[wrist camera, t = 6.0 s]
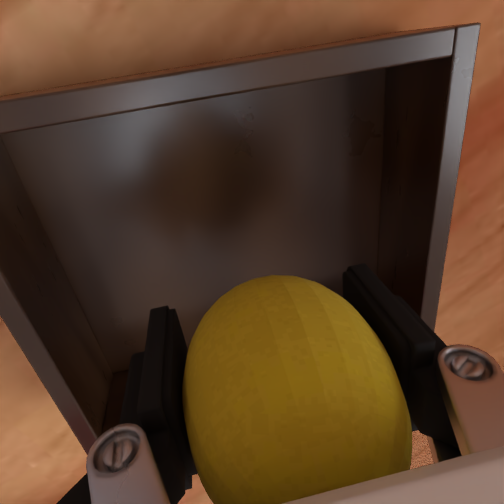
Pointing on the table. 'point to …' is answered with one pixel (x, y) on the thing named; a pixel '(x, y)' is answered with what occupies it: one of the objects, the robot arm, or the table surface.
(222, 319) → the lemon
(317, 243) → the dark wooden tray
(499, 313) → the table surface
